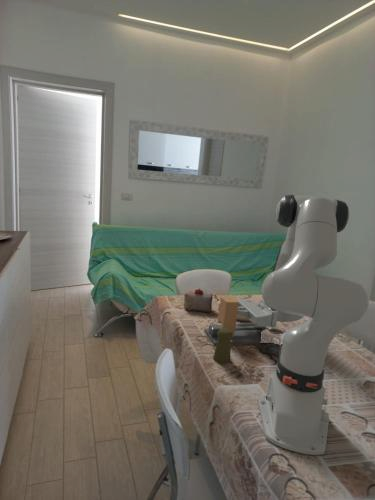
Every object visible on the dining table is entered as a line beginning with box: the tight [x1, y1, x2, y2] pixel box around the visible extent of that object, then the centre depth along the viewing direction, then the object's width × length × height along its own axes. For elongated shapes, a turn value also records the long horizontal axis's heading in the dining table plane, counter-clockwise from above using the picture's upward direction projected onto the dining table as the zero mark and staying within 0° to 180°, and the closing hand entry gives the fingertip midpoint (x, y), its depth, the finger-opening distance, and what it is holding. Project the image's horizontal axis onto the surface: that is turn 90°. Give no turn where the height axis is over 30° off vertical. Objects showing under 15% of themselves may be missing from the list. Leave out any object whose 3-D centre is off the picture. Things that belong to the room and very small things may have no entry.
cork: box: [212, 328, 233, 365], centre depth 118 cm, size 6×6×11 cm
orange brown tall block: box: [217, 296, 239, 337], centre depth 134 cm, size 5×6×14 cm
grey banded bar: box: [208, 322, 268, 338], centre depth 136 cm, size 23×4×5 cm, turn 105°
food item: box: [183, 288, 214, 313], centre depth 162 cm, size 14×8×10 cm, turn 85°
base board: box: [203, 328, 261, 346], centre depth 137 cm, size 24×12×1 cm, turn 105°
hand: (234, 311), depth 134 cm, fingers closed, pressing on orange brown tall block
